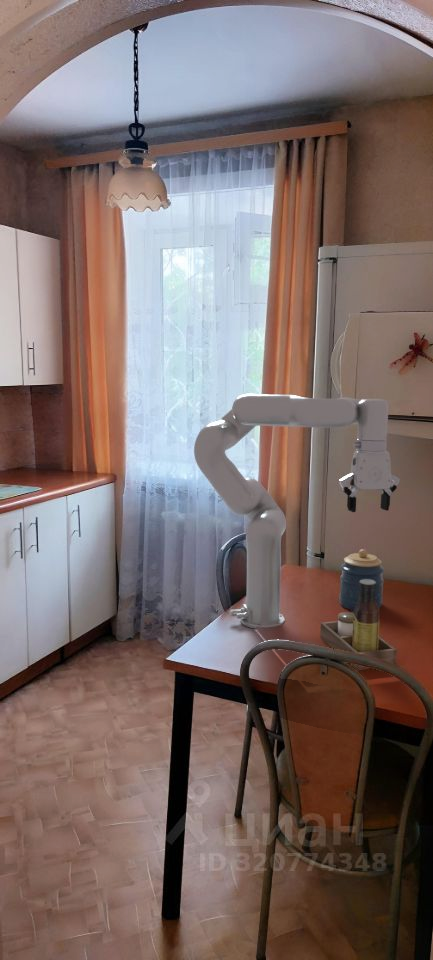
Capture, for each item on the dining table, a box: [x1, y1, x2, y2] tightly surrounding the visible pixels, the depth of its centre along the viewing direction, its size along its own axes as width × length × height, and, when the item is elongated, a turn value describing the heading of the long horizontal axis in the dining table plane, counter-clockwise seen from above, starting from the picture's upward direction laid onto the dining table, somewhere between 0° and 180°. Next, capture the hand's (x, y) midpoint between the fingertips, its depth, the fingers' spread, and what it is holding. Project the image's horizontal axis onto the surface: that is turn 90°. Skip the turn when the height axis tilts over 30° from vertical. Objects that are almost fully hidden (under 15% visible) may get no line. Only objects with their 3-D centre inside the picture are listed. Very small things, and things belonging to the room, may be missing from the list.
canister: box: [338, 548, 385, 611], centre depth 202 cm, size 13×13×18 cm
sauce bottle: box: [352, 579, 380, 652], centre depth 162 cm, size 7×6×20 cm
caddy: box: [319, 620, 398, 671], centre depth 167 cm, size 11×20×5 cm, turn 15°
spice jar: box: [337, 611, 354, 637], centre depth 172 cm, size 5×5×7 cm
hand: (368, 510), depth 176 cm, fingers open, 9 cm apart
